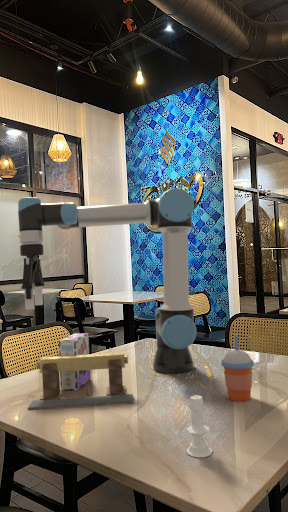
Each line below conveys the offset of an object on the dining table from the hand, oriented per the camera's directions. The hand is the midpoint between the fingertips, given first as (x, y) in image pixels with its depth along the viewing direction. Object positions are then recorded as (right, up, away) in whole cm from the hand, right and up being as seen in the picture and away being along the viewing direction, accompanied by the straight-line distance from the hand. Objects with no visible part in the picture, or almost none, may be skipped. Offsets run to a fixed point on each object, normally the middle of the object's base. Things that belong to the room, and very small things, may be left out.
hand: (34, 307), depth 139 cm
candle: (+48, -24, -53) cm, 75 cm away
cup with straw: (+64, -24, -21) cm, 71 cm away
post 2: (+28, -26, -10) cm, 39 cm away
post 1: (+8, -27, -11) cm, 30 cm away
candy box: (+14, -27, +1) cm, 30 cm away
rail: (+18, -18, -10) cm, 27 cm away
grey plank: (+19, -26, -18) cm, 36 cm away
